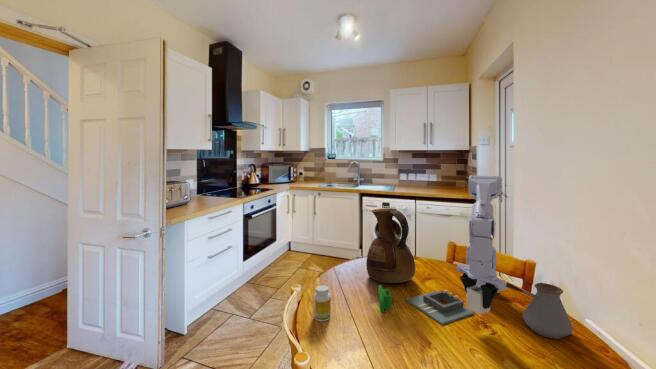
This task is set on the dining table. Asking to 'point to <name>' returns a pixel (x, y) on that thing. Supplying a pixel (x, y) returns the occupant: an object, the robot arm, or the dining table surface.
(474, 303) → the plug
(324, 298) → the supplement bottle
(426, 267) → the dining table surface
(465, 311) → the header socket
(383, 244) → the ceramic pitcher
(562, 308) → the coffee pot
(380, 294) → the pipe clamp
